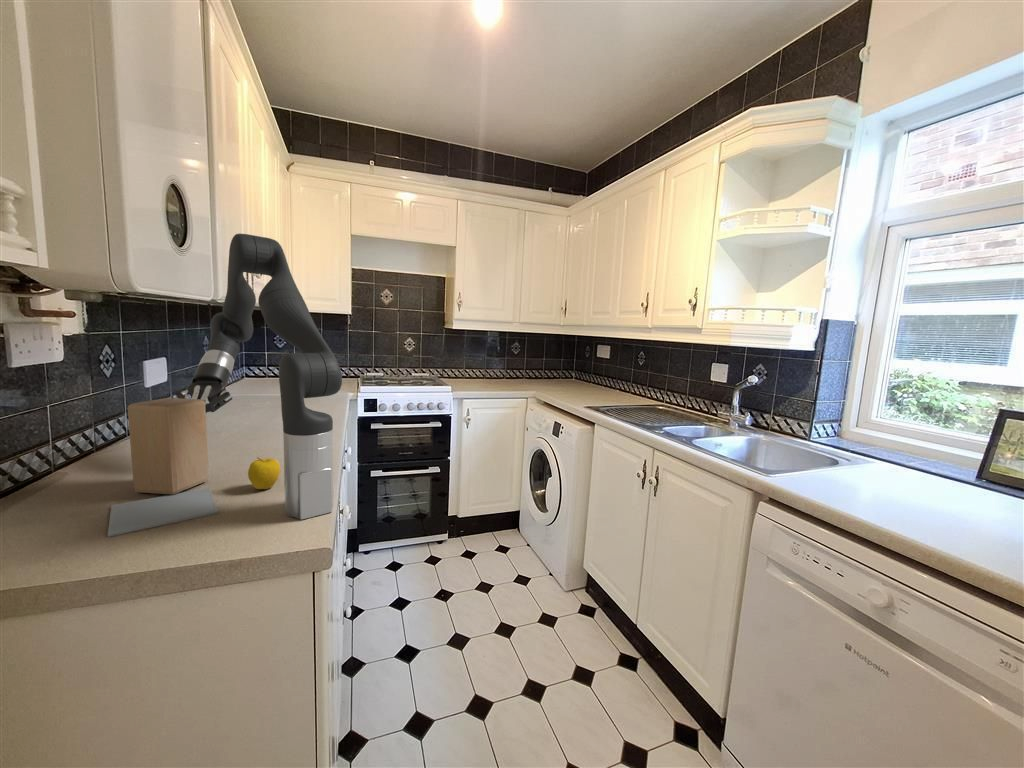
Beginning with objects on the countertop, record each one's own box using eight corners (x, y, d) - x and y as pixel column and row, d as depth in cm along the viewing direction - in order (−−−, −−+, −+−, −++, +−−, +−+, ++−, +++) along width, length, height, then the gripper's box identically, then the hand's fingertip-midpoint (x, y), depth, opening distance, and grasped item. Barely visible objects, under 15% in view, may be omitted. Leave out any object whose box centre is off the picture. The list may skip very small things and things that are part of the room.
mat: (218, 512, 83) (218, 511, 83) (107, 537, 72) (107, 534, 72) (208, 489, 94) (208, 487, 94) (111, 507, 83) (111, 505, 83)
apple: (242, 492, 93) (240, 459, 92) (262, 482, 99) (261, 450, 98) (267, 495, 92) (266, 461, 91) (286, 484, 98) (285, 453, 97)
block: (211, 480, 98) (206, 398, 96) (173, 496, 88) (167, 405, 86) (173, 478, 99) (168, 397, 97) (131, 493, 89) (124, 403, 87)
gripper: (180, 360, 107) (153, 416, 96) (237, 362, 110) (217, 416, 99) (192, 378, 112) (168, 432, 102) (246, 379, 115) (228, 432, 105)
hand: (192, 424), depth 101 cm, fingers closed
